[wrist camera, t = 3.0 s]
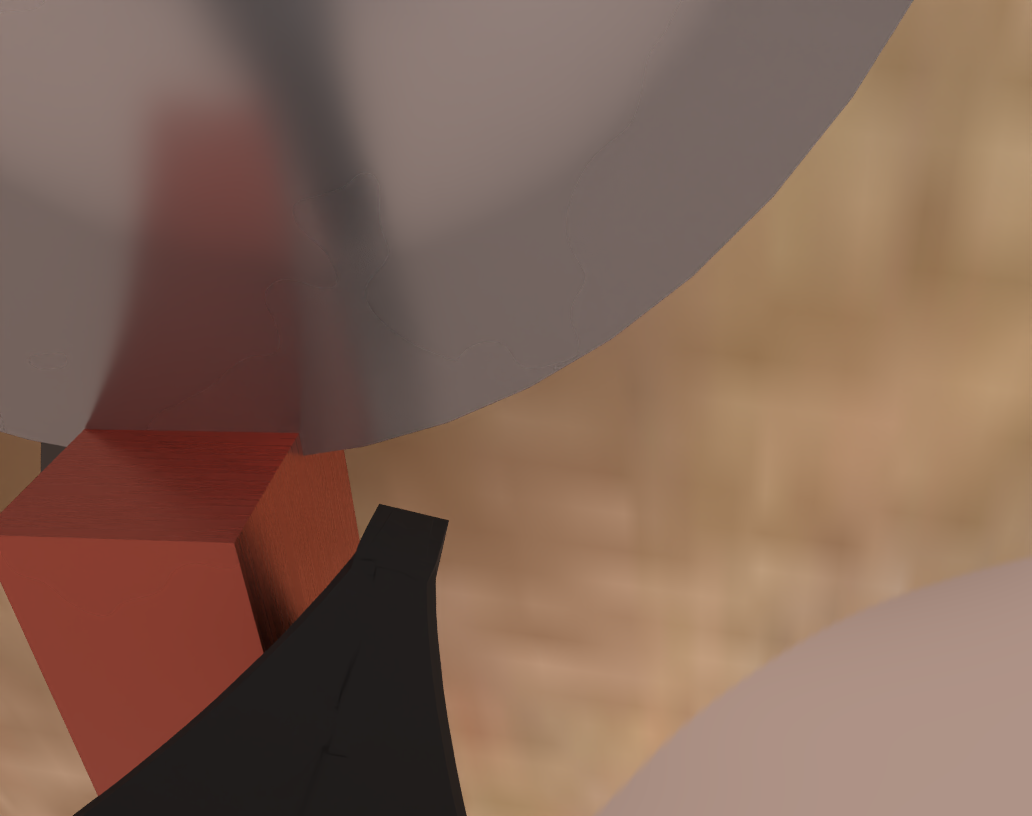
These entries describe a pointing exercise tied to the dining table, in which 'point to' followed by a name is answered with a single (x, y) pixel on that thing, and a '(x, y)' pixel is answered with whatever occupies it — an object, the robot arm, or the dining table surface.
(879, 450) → the dining table surface
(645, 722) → the dining table surface
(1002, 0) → the dining table surface
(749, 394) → the dining table surface
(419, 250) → the cooker lid
